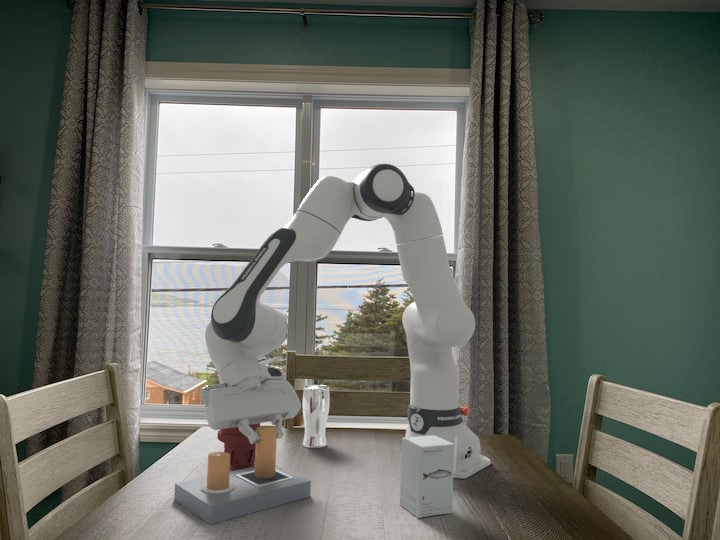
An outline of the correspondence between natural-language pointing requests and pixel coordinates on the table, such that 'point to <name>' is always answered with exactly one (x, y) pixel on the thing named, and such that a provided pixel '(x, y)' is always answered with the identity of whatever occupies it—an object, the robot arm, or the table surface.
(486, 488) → the table surface
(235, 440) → the mechanical component
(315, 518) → the table surface
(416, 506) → the supplement box
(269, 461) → the orange smooth rounded part
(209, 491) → the grey peg board
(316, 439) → the beer glass
